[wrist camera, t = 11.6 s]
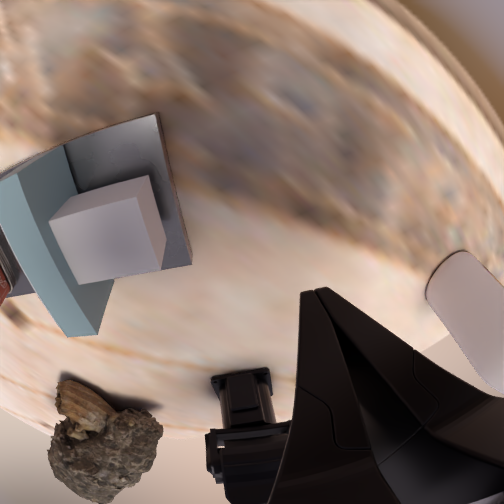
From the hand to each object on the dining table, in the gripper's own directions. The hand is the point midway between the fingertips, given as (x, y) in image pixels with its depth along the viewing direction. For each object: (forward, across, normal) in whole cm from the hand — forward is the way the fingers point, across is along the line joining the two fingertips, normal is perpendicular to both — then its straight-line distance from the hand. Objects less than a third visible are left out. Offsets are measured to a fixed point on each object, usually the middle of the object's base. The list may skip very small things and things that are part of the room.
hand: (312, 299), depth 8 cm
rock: (+12, +24, +26) cm, 37 cm away
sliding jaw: (+10, +10, 0) cm, 14 cm away
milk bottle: (+11, -21, +14) cm, 28 cm away
